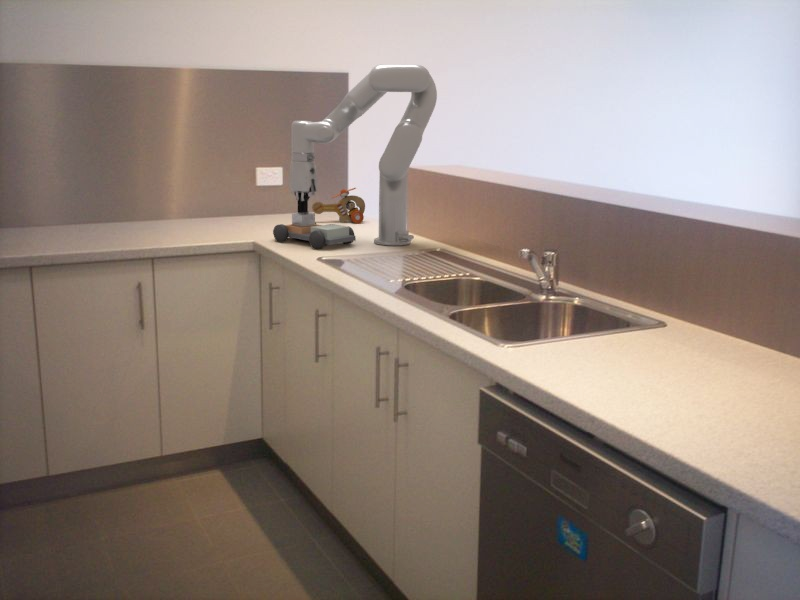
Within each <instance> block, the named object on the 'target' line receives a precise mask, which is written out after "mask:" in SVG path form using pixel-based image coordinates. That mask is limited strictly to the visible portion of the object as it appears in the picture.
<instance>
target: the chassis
mask: <svg viewBox="0 0 800 600" xmlns="http://www.w3.org/2000/svg"><path fill="white" fill-rule="evenodd" d="M272 234H273V236H274V237H273V238H274V239H275V241H276V242H278V243H284V242H286V241H288V238H290V239H291V238H293V239H296V240H298V239H299V240H303V241H308V242H309V245H310V247H311V248H312V249H314V250H321V249H323V248H324V246H325V245H328V246H329V245H335V244H343V245H350V244H351V245H352V243H353V242H355V241H356V235H355V232H354V230H353V228H352V227H351V226H348V225H340V224H333V223H331V224H323V225H322V224H317V222H315V226H311V227H303V228H301V227H295V226H292V224H283V223H281V224H276V225H274V228H273V229H272Z"/></svg>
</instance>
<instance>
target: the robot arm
mask: <svg viewBox="0 0 800 600" xmlns="http://www.w3.org/2000/svg"><path fill="white" fill-rule="evenodd" d="M429 71H430V70H428V68H427V67H425V66H422V65H420V64H377V65H375V66H374V67H372V69H371V71H370V72H368V74H367V75H365V76H364V78H363V79H361V80H360V81H359V82H358V83H357V84H356V85H355V86H354V87H353V88H352V89H350V91H348V92H347V94H346V95H344V97H343V99H342V100H341V102H340V103H339V104H338V105H337V106H336V107H335V108H334V109H333V110H332V111H331V112H330V113H329V114H328V115H327V116H326V117H325V118H323V120H320V121H310V120H293V122H292V123H291V161H290V164H289V165H290V166H289V174H288V178H289V179H288V184H289V185H288V186H289V189H290V193H291V194H293V195H294V196H295V199H296V201H297V213H298V212H300V213H304V212H309V211H308V208H309V207H308V206H309V203H308V202H309V201H310V198H311V197H315V193H316V192H318V189H319V183H318V182H319V181H318V180H319V179H318V169H317V164H316V162H315V159H316V158H315V144H316V143H317V144H323V145H327V144H331V143H332V142H333V141H335V140H336V139H337V138H338V137H339V136H340V135H341V134H343V133H344V131H345V130H346V129H347V128H349V127H350V126H351V125H352V124H353V123H354V122H356V120H357V119H359V118H360V117H362V116H363V115H364V114H366V112H367V111H368V110H369V109H371V108H372V107H373V106H374V105H375V104H376V103H377V102H378V101H379V100H380V99H381V98H383V97H384V96H385V95H386V94H387V93H411V97H410V100H409V103H408V104H407V107H406V109H405V111H404V113H403V115H402V117H401V119H400V121H399V123H397V125H396V127H395V128H394V130H393V133H392V134H391V137H390V138H389V141H388V143H387V145H386V148H385V149H384V151H383V153H382V155H381V157H380V159H379V162H378V170H379V178H378V179H379V181H378V182H379V183H378V184H379V189H378V192H379V193H378V194H379V195H378V237H375V238H374V239H373V243H374V244H376V245H381V246H389V247H390V246H393V247H394V246H406V245H410V244H411V241H412V240H414V237H415V235H414V234H409V233H410V232H409V230H407V223H408V222H407V213H408V212H407V209H408V179H409V178H408V174H409V172H408V171H409V168H410V166H411V164H412V162H413V160H414V158H415V157H416V154H417V152H418V150H419V147H420V146H421V143H422V140H423V135H424V132H425V130H426V128H427V126H428V123H429V122H430V120H431V117H432V115H433V112H434V110H435V107H436V104H437V100H438V99H437V98H438V91H437V86H436V83H435V79H433V77H432V75H431V74H430V72H429Z"/></svg>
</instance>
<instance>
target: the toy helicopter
mask: <svg viewBox="0 0 800 600" xmlns="http://www.w3.org/2000/svg"><path fill="white" fill-rule="evenodd" d="M356 189H357V187H353V188H350V189H348V190H346V189H345V188H344V189H341V190H340V193H338V194H336V195H334V196H331V199H334V198H336V197H339V196H340V198H341V199H340V200H339V201H338V202H337V203H336V202H335V203H323V202H321V201H315V202H313V203H312V207H311V208H312V213H315V215H316V214H317V215H320V214H322V213H326V212H329V213H331V212H332V213H336V214H337V215H338V218H339V219H338V220H339V222H340V223H341V224H342V223H345V222H352V223H355V224H361V223H362V222H363V221H364V217H365V216H364V213H365V209H366V203H365V201H364V199H363V198H362V197H360V196H358V195H354V194H353V195H352V194H351V195H349V194H350V191H354V190H356Z"/></svg>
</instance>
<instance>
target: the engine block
mask: <svg viewBox="0 0 800 600" xmlns="http://www.w3.org/2000/svg"><path fill="white" fill-rule="evenodd" d="M291 223H292V226H295V227H301V228H303V227H311V226H315V223H316V213H314V212H310V211H308V212H304V213H300V212H298V211H297V212H295V213H292V214H291Z"/></svg>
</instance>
